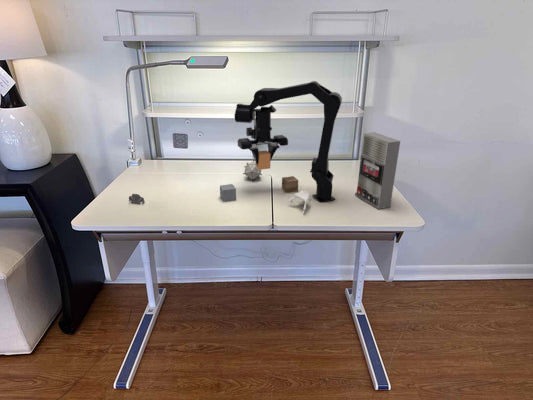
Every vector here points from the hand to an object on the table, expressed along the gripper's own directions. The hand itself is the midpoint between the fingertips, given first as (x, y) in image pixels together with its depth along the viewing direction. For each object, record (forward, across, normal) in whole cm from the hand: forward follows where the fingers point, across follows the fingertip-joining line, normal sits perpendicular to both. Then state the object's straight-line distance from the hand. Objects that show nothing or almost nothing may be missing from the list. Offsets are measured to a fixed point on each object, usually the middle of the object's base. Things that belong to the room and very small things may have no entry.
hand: (262, 163), depth 146 cm
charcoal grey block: (+12, +15, +2) cm, 19 cm away
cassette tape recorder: (+12, -36, +23) cm, 44 cm away
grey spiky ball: (+12, -1, -15) cm, 19 cm away
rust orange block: (+2, 0, 0) cm, 2 cm away
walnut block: (+12, -11, +2) cm, 16 cm away
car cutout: (+13, +45, -3) cm, 47 cm away
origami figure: (+12, -8, +19) cm, 24 cm away
